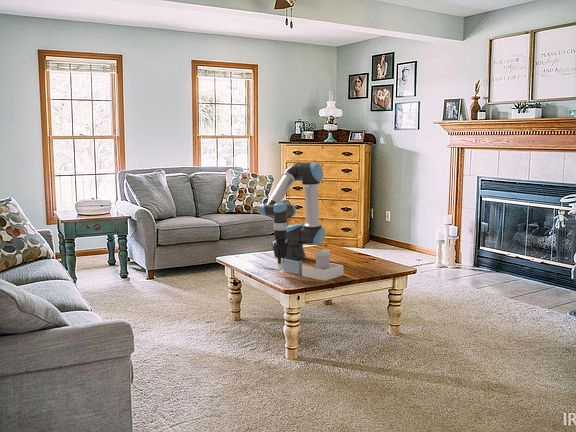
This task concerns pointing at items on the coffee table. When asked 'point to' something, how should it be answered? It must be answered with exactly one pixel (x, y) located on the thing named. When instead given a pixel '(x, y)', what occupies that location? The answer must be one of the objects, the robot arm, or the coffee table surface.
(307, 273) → the white open box
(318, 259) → the coffee cup
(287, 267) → the grey flat plate
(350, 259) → the coffee table surface
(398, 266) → the coffee table surface
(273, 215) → the robot arm
